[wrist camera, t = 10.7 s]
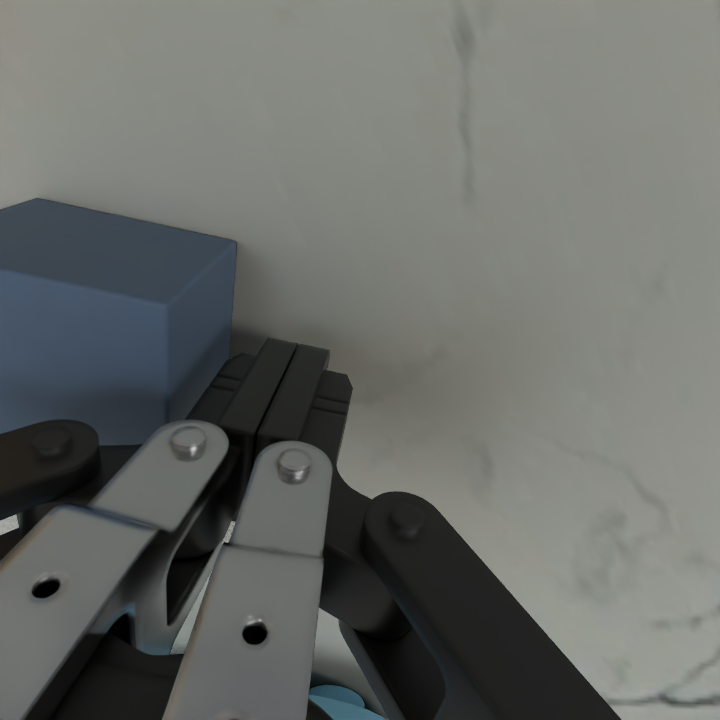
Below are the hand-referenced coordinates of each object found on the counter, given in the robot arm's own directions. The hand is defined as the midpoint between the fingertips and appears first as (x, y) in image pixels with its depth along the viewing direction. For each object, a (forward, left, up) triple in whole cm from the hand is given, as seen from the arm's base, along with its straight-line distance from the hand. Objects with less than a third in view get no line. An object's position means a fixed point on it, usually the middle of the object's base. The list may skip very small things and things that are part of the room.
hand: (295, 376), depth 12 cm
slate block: (0, -5, -2) cm, 5 cm away
